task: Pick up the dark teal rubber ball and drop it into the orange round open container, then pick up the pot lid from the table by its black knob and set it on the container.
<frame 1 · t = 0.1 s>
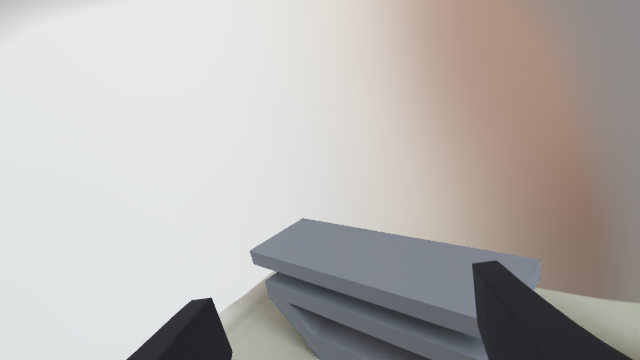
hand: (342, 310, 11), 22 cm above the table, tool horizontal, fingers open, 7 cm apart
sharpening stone: (390, 356, 39), on the table
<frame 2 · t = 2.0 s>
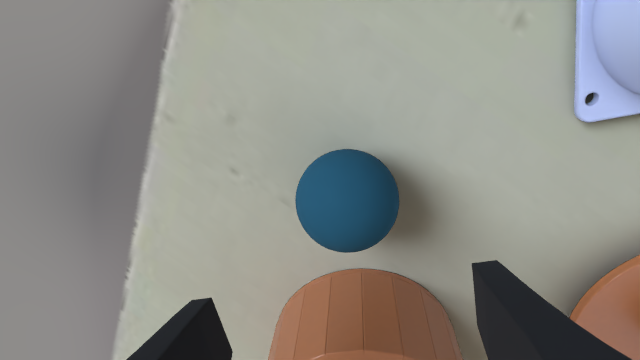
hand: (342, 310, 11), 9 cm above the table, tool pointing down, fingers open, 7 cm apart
ball: (346, 200, 17), point 2 cm above the table
orange round open container: (363, 341, 23), on the table
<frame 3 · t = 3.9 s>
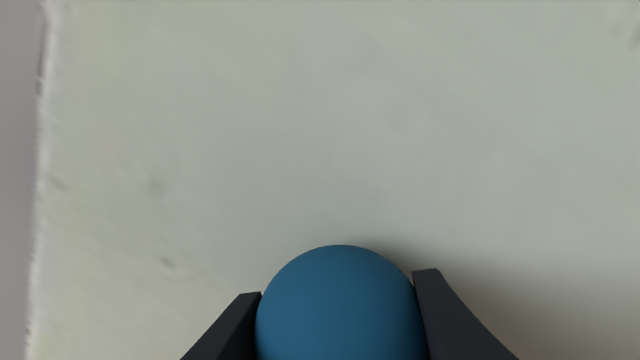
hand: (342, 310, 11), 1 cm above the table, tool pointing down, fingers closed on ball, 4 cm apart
ball: (340, 331, 10), point 2 cm above the table, touching gripper
when the fingers open (5 cm above the table, at t = 9.1 s): ball stays where it is, resting on orange round open container.
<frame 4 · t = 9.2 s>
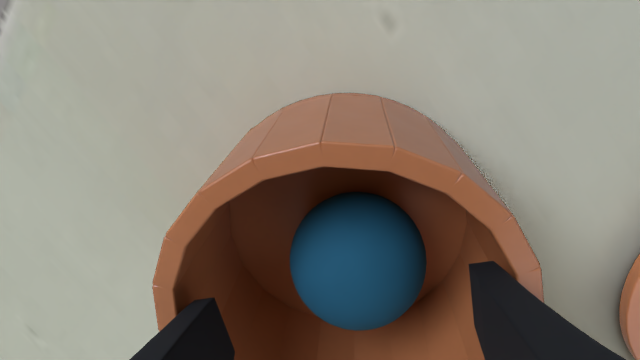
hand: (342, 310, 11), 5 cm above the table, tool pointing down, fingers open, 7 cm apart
ball: (357, 258, 13), point 3 cm above the table, tilted 13°, touching orange round open container
orange round open container: (345, 222, 16), on the table
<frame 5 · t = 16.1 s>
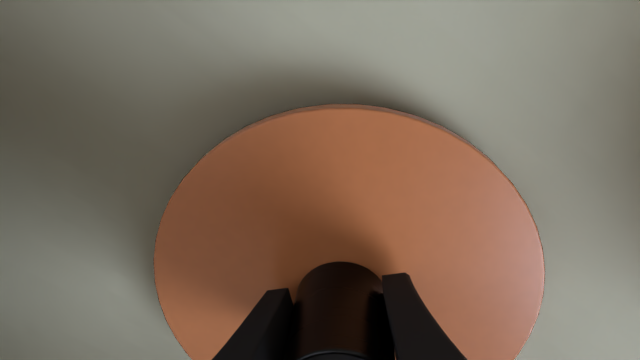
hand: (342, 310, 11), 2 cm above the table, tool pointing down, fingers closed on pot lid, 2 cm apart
pot lid: (342, 287, 12), point 1 cm above the table, touching gripper
when the fingers open (7 cm above the table, at t = 21.2 s): pot lid stays where it is, resting on orange round open container.
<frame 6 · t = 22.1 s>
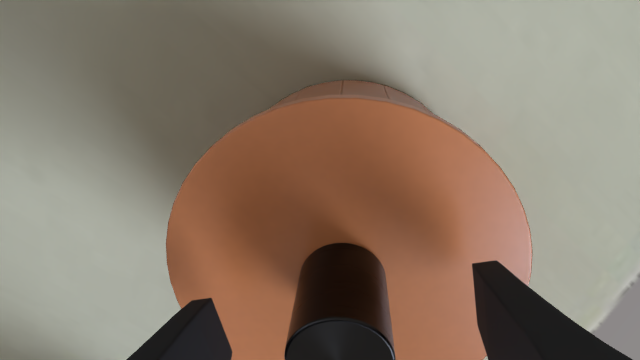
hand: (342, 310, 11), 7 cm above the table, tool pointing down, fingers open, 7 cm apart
orange round open container: (346, 194, 18), on the table
pot lid: (343, 268, 13), point 6 cm above the table, touching orange round open container
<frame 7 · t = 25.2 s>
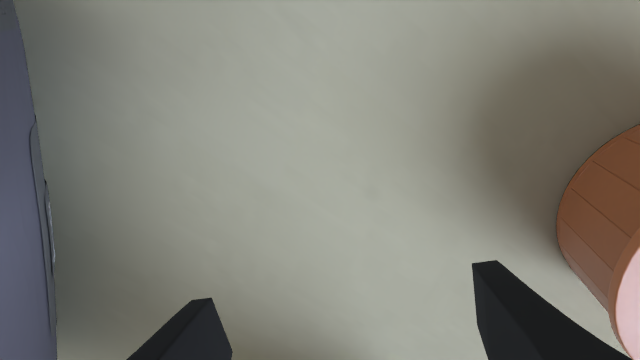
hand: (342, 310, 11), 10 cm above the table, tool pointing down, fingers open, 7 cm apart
bluetooth speaker: (18, 192, 23), on the table
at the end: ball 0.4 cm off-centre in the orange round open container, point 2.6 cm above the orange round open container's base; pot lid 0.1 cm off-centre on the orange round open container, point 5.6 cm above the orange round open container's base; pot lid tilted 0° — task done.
